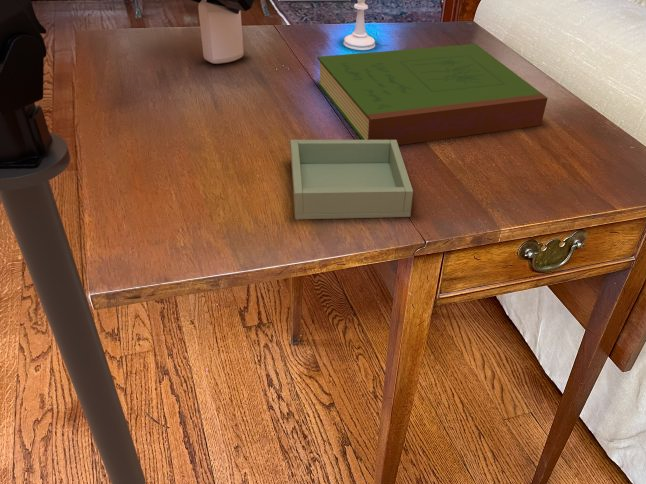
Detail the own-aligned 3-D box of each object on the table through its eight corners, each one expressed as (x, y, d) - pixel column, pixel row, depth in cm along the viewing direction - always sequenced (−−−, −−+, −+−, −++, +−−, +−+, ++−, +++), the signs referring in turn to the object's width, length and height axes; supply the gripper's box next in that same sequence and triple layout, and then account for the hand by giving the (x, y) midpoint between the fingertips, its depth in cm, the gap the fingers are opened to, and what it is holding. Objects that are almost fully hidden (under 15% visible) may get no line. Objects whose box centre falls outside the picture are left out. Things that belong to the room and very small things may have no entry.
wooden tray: (295, 219, 63) (294, 192, 61) (291, 165, 71) (290, 139, 68) (410, 217, 65) (413, 191, 63) (394, 164, 73) (396, 139, 70)
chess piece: (377, 40, 101) (381, -28, 95) (372, 52, 97) (376, -19, 91) (346, 37, 101) (348, -32, 95) (341, 48, 98) (342, -23, 91)
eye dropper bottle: (246, 63, 90) (239, -30, 82) (204, 64, 88) (194, -30, 80) (242, 52, 93) (236, -39, 85) (202, 53, 91) (192, -40, 83)
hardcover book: (369, 149, 75) (370, 119, 72) (317, 84, 87) (317, 56, 84) (545, 124, 84) (552, 97, 81) (476, 68, 96) (480, 43, 93)
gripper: (252, -123, 70) (306, -33, 85) (120, -149, 75) (193, -59, 90) (213, -31, 69) (275, 44, 84) (83, -63, 75) (163, 13, 90)
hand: (226, 7), depth 87 cm, fingers closed on eye dropper bottle, 4 cm apart
